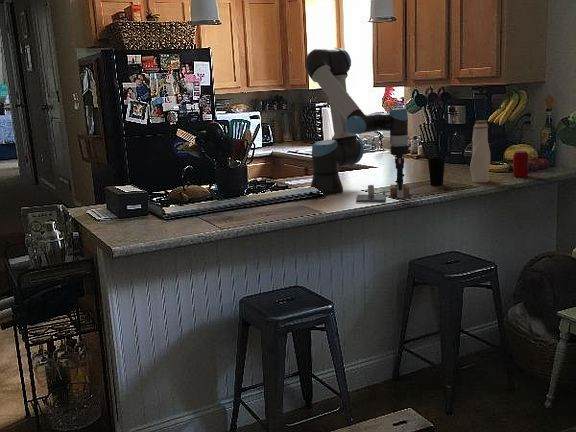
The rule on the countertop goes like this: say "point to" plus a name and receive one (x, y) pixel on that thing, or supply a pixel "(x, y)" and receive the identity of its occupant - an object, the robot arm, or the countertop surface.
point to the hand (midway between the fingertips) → (400, 194)
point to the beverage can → (520, 163)
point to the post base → (375, 199)
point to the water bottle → (480, 152)
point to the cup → (436, 171)
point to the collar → (394, 190)
